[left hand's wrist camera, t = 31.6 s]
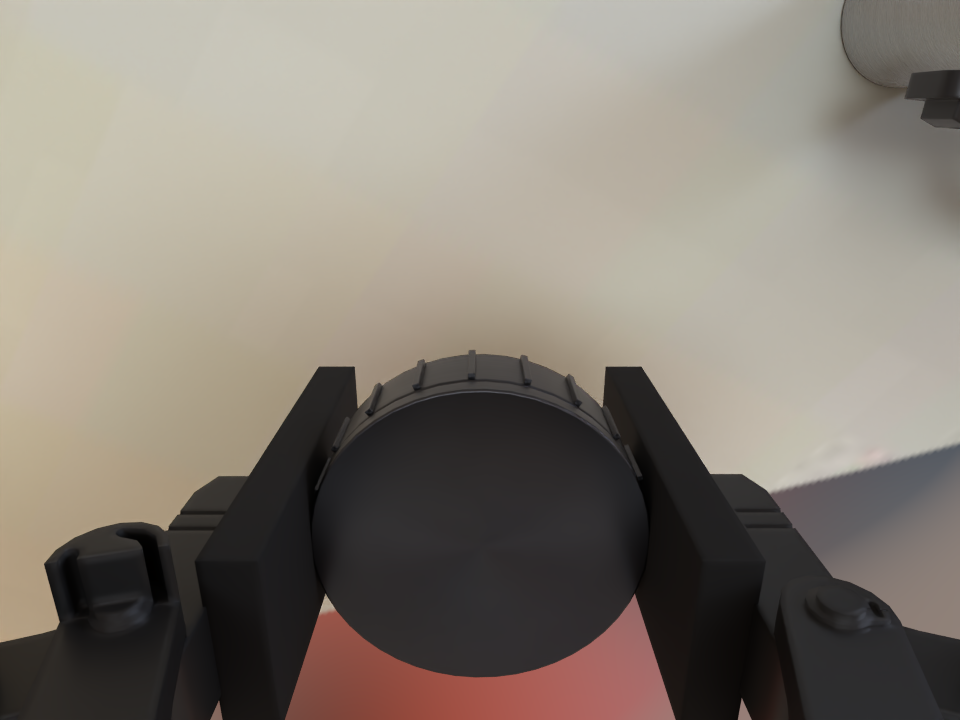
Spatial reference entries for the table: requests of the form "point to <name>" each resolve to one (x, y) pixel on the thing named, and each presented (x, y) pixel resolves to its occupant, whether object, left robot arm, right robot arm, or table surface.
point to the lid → (480, 517)
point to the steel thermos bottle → (901, 38)
